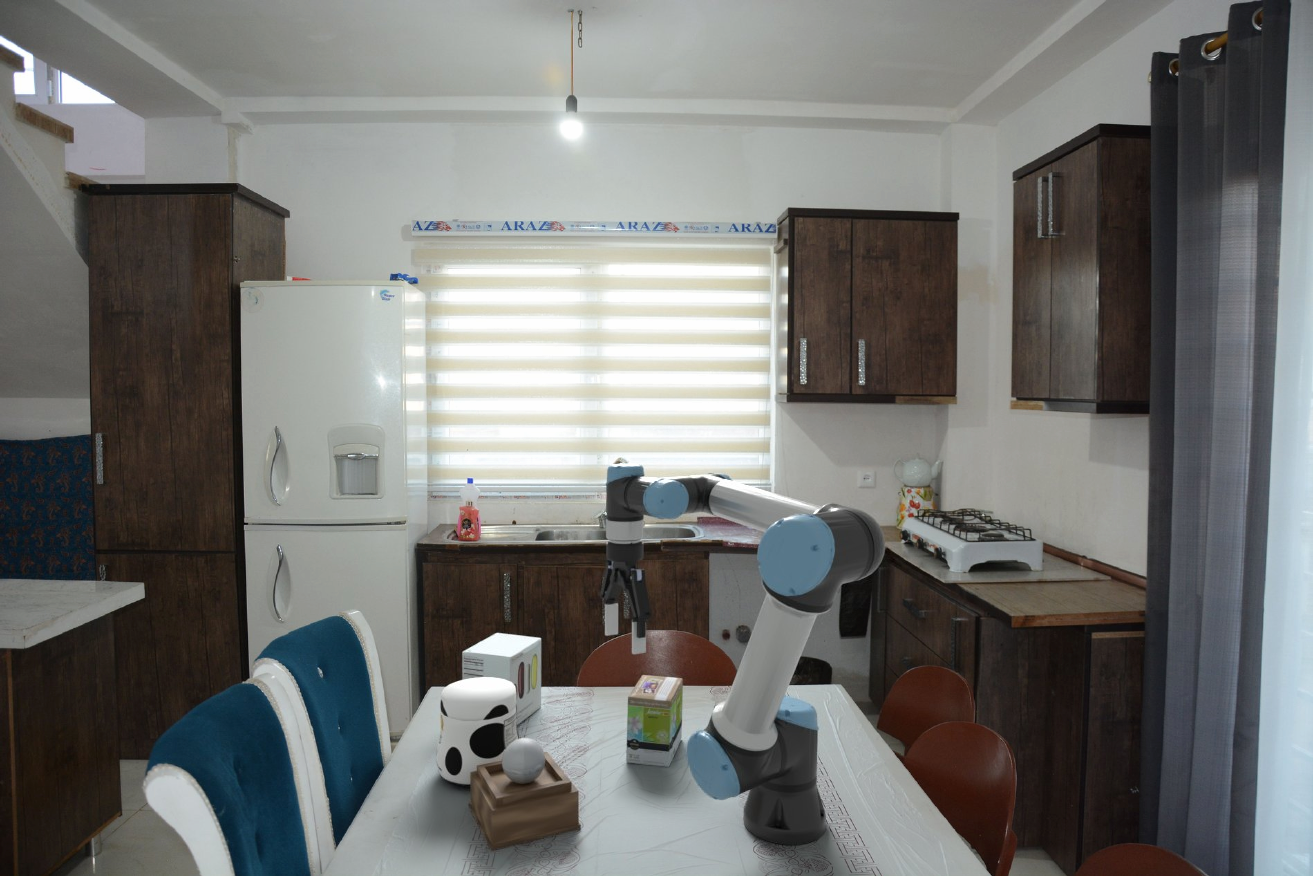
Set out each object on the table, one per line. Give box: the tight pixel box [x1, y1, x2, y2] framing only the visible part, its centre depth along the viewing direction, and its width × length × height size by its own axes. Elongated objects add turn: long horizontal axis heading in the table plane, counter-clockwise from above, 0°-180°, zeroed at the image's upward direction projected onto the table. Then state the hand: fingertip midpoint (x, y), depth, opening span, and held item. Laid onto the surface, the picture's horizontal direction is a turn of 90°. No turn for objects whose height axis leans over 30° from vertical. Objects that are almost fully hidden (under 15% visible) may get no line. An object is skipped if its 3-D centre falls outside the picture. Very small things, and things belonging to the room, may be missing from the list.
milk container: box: [435, 677, 520, 787], centre depth 169 cm, size 17×17×18 cm
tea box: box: [625, 674, 684, 768], centre depth 181 cm, size 15×10×15 cm
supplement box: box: [461, 632, 542, 726], centre depth 200 cm, size 17×13×18 cm
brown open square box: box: [468, 751, 582, 852], centre depth 152 cm, size 17×17×8 cm
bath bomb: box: [502, 737, 545, 784], centre depth 152 cm, size 8×8×8 cm
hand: (624, 643), depth 165 cm, fingers open, 13 cm apart
